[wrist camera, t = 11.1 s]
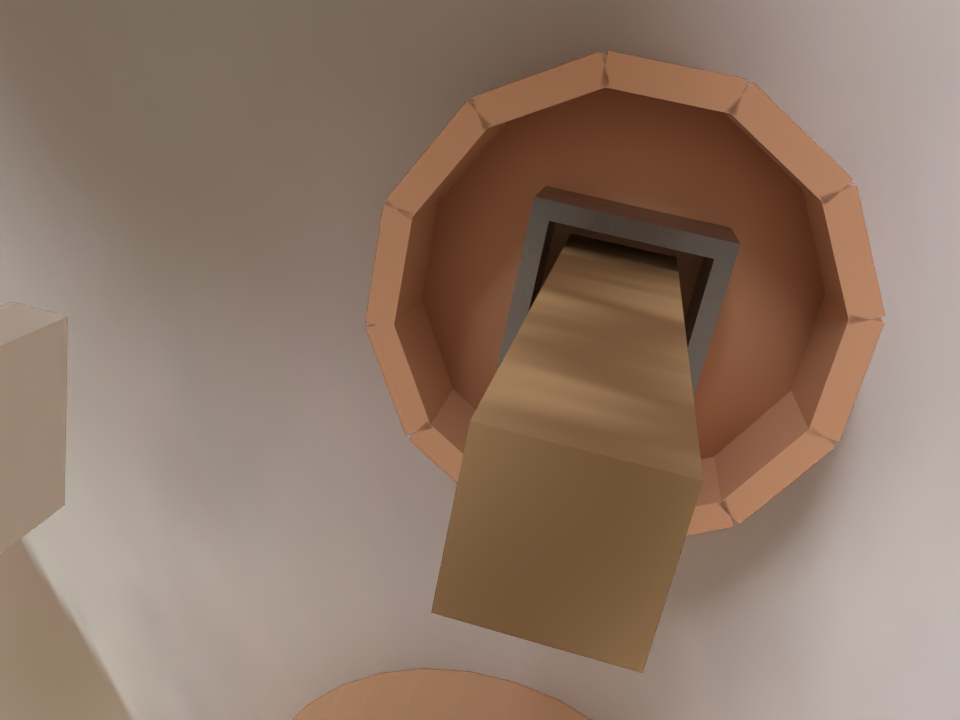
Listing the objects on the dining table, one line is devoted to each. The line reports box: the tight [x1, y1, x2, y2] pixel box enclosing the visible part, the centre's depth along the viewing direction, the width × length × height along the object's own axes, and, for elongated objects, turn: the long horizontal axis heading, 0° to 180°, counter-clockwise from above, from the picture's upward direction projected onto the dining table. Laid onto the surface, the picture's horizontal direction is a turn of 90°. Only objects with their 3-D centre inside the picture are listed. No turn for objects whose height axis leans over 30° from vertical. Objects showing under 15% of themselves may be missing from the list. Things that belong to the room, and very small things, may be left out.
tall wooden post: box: [431, 234, 703, 673], centre depth 18 cm, size 3×3×14 cm
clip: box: [496, 186, 740, 397], centre depth 23 cm, size 5×5×2 cm
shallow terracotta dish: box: [365, 51, 885, 536], centre depth 23 cm, size 13×13×4 cm
